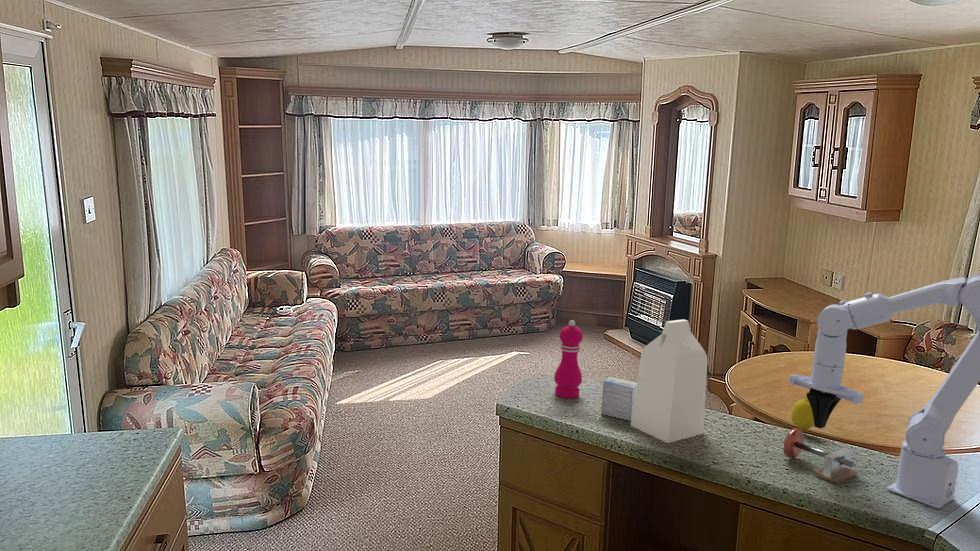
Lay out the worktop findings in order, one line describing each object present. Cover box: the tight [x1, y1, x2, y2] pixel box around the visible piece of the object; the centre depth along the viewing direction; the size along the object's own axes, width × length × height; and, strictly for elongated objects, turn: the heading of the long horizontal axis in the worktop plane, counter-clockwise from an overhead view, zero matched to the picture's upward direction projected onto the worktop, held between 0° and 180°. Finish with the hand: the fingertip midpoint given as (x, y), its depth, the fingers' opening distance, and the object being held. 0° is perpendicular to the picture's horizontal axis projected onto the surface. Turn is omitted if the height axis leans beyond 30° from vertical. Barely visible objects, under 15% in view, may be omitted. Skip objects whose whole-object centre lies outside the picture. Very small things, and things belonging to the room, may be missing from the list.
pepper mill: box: [553, 319, 584, 399], centre depth 189 cm, size 7×7×20 cm
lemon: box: [791, 398, 814, 432], centre depth 172 cm, size 6×6×8 cm
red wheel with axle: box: [783, 427, 855, 468], centre depth 151 cm, size 14×6×6 cm, turn 39°
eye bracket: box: [813, 446, 859, 486], centre depth 148 cm, size 5×8×5 cm, turn 128°
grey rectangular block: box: [600, 376, 637, 422], centre depth 176 cm, size 8×4×9 cm, turn 58°
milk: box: [630, 319, 708, 444], centre depth 167 cm, size 12×12×26 cm
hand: (819, 426), depth 151 cm, fingers closed
